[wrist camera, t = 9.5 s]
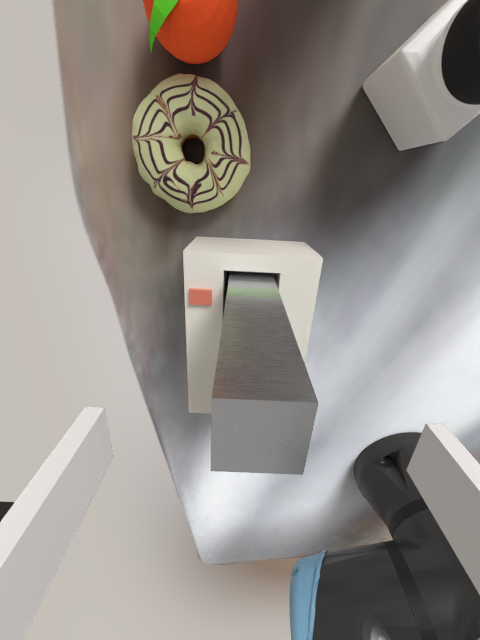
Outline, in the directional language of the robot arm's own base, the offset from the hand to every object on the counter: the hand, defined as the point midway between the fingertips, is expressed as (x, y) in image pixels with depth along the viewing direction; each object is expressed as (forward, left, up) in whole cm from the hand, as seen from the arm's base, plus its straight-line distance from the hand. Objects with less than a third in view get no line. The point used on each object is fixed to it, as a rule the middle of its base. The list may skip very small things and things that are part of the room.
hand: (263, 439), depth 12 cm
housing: (-5, 0, -24) cm, 24 cm away
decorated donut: (+12, +6, -24) cm, 28 cm away
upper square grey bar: (0, 0, -18) cm, 18 cm away
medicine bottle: (+18, -14, -24) cm, 33 cm away
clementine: (+21, +6, -24) cm, 33 cm away
